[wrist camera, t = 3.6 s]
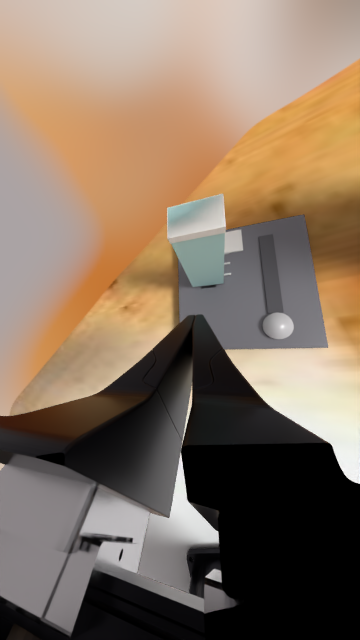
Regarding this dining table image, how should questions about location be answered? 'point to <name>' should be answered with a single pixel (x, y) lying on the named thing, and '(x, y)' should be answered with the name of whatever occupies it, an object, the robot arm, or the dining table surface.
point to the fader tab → (199, 239)
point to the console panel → (261, 290)
